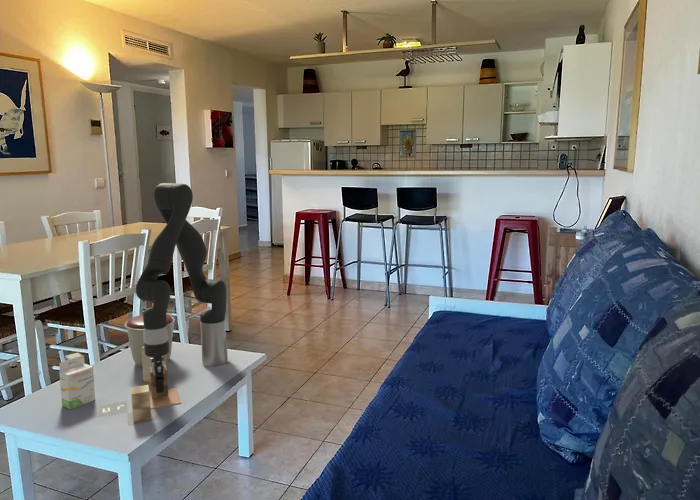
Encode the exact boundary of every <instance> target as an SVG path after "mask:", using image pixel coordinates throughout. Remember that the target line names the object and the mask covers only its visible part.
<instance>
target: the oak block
mask: <svg viewBox="0 0 700 500" xmlns="http://www.w3.org/2000/svg"><path fill="white" fill-rule="evenodd" d="M149 392H150V386H149V384H144V385H139V386H132V387H130V395H131V407H132V409H131V410H132V412H133V422H137V421H142V420H148V419H151V409H150V393H149Z"/></svg>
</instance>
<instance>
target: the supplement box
mask: <svg viewBox="0 0 700 500" xmlns="http://www.w3.org/2000/svg"><path fill="white" fill-rule="evenodd" d="M141 349H142V365H143V366H142V378H143V379H142V380H143V382H144V383H150V369H149V367H152V364H151V358H152V357H148V356H146V355H145V351H144V347H142V348H141ZM162 357H164V362H165V364H164V365H166V369H167V368H168V367H167V366H168V365H167V362H166V355H163V356H162ZM167 370H168V369H167Z"/></svg>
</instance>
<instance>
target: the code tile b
mask: <svg viewBox="0 0 700 500" xmlns="http://www.w3.org/2000/svg"><path fill="white" fill-rule="evenodd" d="M126 413H127V426H134V425H139V424H144V423H149V422H154V421H157V420H158V419H157V414H156V408H154V409H151V419H148V420H142V421H137V422H133V411H132V412H126Z"/></svg>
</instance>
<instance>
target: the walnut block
mask: <svg viewBox="0 0 700 500" xmlns="http://www.w3.org/2000/svg"><path fill="white" fill-rule="evenodd" d="M149 369H150V392H151V395H152V399H155V398H161V397H166V396H168V389H169V386H168V381H169V380H168V369H166V365H164V372H165V373H164V382H163V388H164V391H163V392H161V393H157V392H156V382H155V375H153V368H152V367H149ZM157 378H162V376H160V377H157Z"/></svg>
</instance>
